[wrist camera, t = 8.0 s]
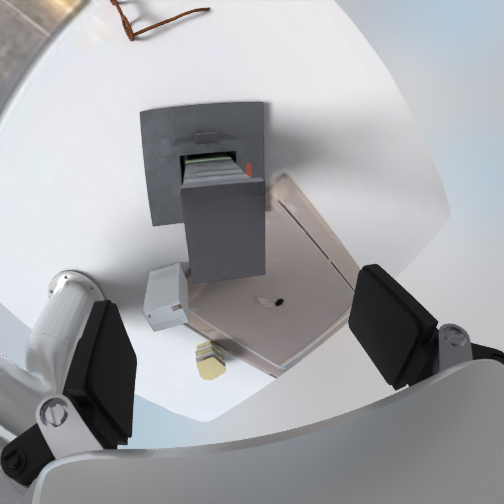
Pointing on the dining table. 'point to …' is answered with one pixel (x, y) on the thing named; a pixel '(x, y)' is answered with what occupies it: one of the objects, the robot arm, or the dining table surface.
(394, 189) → the dining table surface
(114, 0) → the glasses
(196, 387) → the dining table surface
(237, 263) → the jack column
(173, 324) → the skincare box
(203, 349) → the beige layered block
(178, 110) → the base
